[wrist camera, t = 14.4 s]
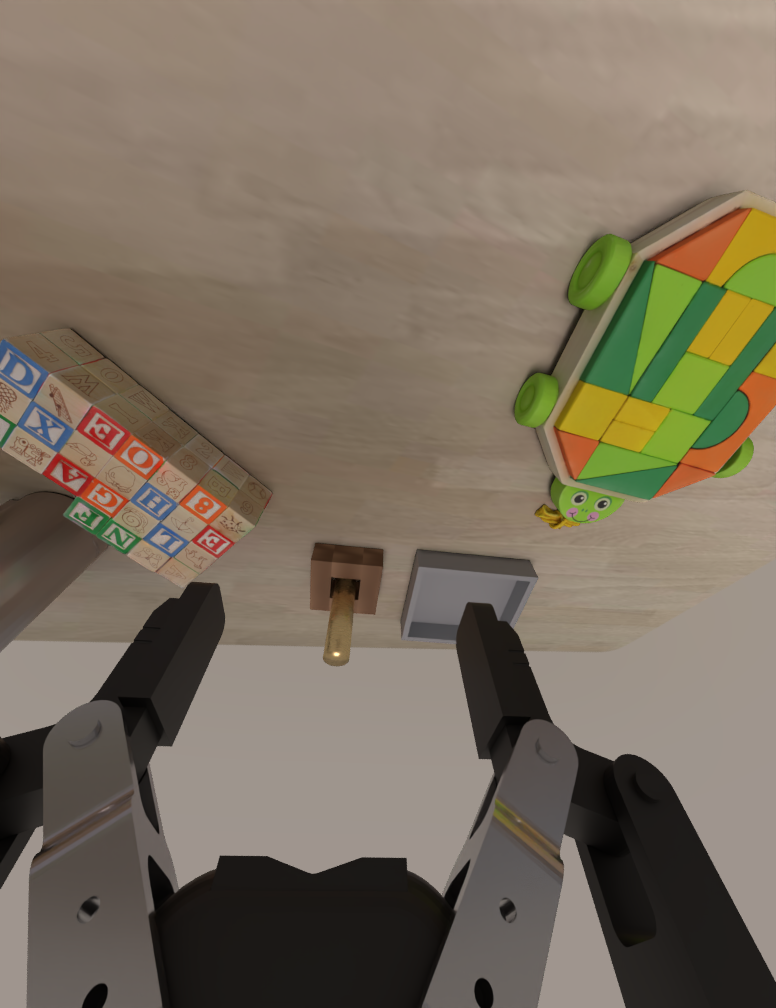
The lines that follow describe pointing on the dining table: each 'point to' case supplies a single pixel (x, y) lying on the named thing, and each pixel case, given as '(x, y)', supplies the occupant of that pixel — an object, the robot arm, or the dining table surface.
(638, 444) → the wooden turtle toy
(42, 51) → the dining table surface
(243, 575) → the dining table surface
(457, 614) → the pin tray
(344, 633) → the pin
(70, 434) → the stack of blocks
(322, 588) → the pin base
